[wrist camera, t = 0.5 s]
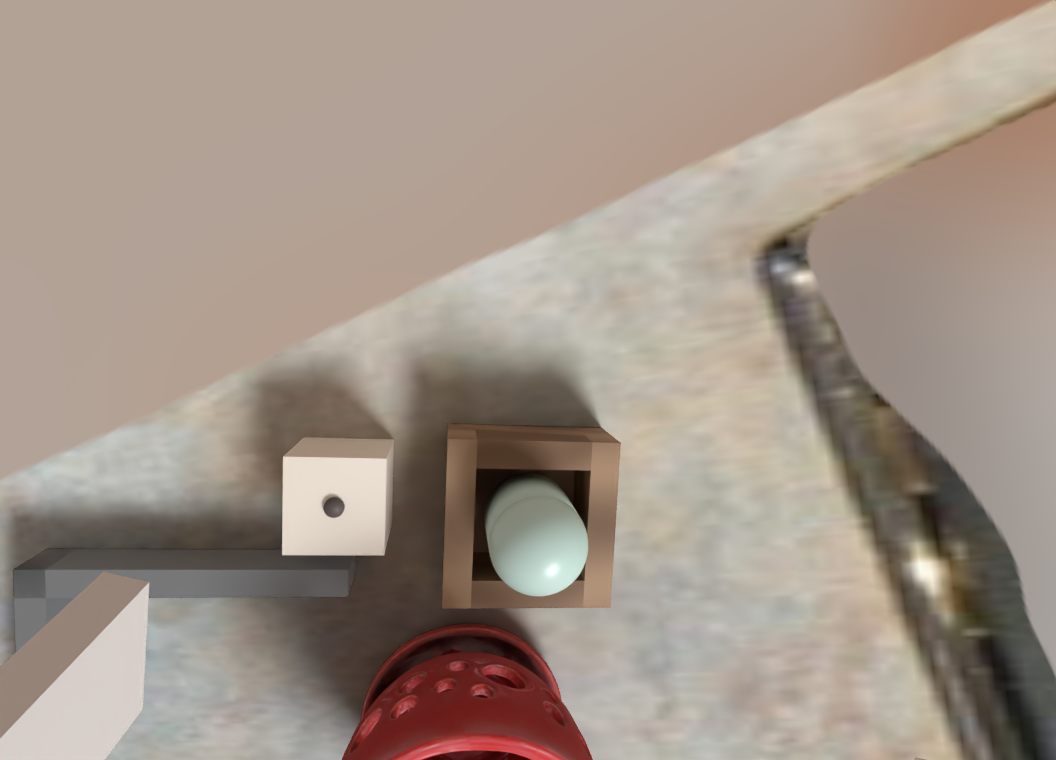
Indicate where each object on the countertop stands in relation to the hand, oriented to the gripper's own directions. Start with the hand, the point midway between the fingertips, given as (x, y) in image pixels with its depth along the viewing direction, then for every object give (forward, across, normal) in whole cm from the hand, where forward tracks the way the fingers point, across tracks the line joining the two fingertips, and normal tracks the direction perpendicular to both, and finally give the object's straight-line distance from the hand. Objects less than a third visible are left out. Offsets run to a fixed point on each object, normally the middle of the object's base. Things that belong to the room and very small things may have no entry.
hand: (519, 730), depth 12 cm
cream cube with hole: (+25, +9, +11) cm, 29 cm away
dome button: (+24, -1, +10) cm, 26 cm away
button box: (+27, -1, +11) cm, 29 cm away
